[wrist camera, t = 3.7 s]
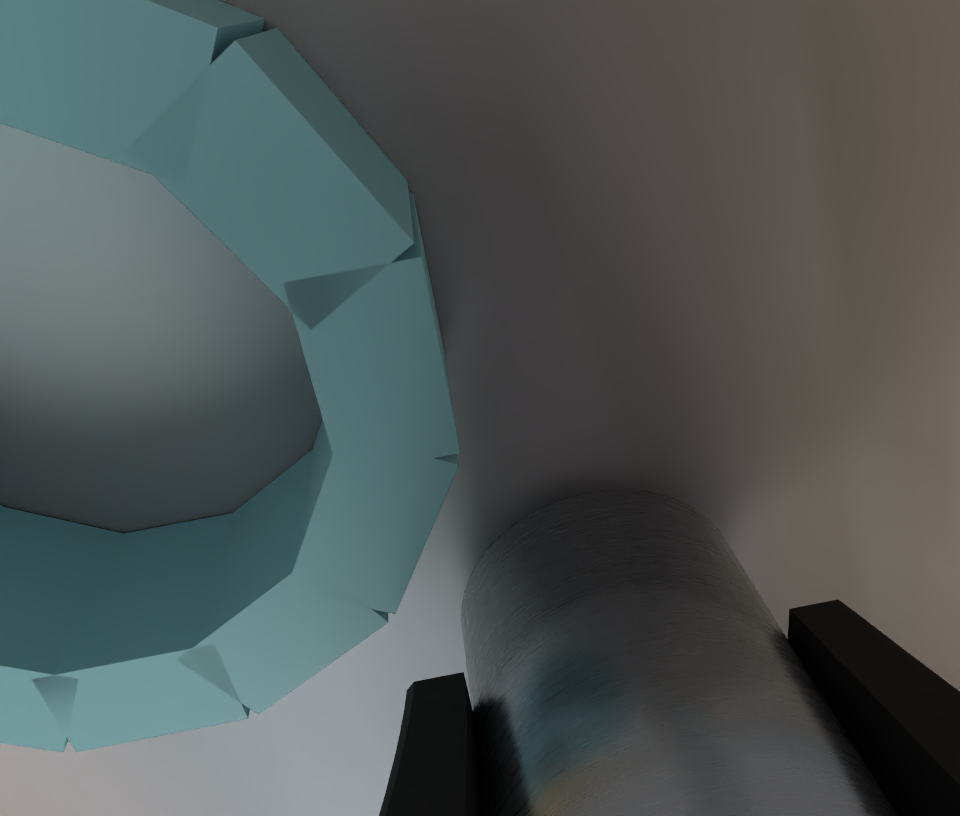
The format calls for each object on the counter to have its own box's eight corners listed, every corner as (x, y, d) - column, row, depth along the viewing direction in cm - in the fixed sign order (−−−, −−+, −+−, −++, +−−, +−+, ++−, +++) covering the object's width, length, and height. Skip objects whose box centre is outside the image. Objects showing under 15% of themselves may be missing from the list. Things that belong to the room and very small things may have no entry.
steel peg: (736, 677, 12) (1005, 1203, 7) (483, 726, 12) (559, 1295, 7) (736, 464, 10) (1110, 962, 5) (437, 521, 10) (492, 1088, 5)
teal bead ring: (480, 537, 11) (503, 668, 9) (-71, 642, 11) (-185, 802, 9) (351, -122, 7) (336, -174, 5) (-493, 25, 7) (-877, 38, 5)
